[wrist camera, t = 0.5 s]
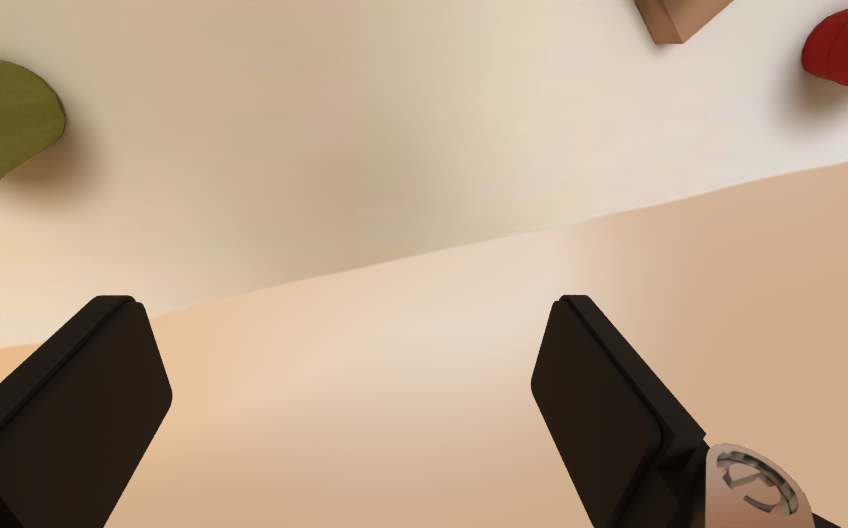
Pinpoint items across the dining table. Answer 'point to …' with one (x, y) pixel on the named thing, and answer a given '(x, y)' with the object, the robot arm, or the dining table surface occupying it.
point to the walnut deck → (677, 17)
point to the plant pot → (25, 116)
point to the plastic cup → (828, 49)
